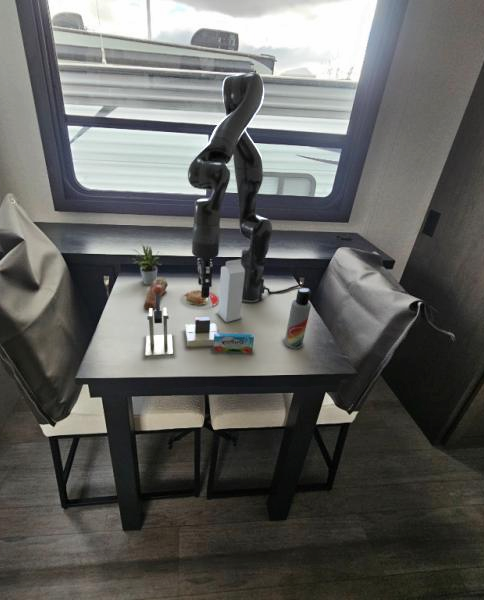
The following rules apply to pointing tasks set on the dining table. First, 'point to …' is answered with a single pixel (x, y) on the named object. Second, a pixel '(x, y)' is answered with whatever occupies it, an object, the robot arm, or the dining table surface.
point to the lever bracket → (158, 338)
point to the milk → (231, 290)
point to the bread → (151, 297)
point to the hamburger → (200, 298)
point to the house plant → (148, 266)
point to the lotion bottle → (298, 319)
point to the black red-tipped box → (202, 325)
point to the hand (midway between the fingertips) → (203, 290)
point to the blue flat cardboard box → (233, 343)
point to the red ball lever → (157, 303)
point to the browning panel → (200, 336)
